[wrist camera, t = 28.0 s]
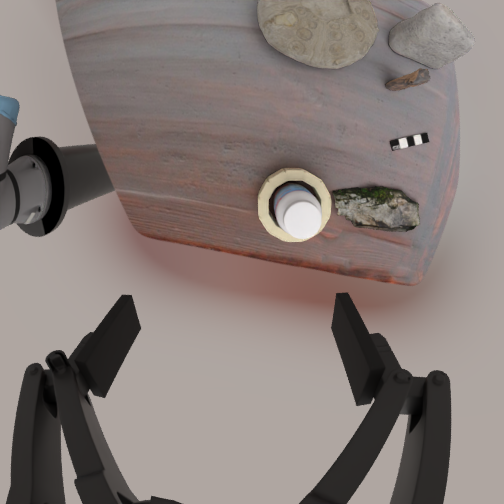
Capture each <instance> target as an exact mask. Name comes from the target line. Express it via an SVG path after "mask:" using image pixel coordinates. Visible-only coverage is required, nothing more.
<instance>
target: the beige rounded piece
mask: <svg viewBox="0 0 504 504" xmlns="http://www.w3.org/2000/svg"><path fill="white" fill-rule="evenodd" d="M257 12H258V14H257V16H258V22H259V27H260V28H261V30H262V32H263V34H264V37H265V38H266V40H267V42H268V43H269V44H270V45H271V46H272V47H274V48H275V49H276V50H278V51H279V52H282V53H283V54H284V55H286V56H288V57H290V58H292V59H294V60H296V61H298V62H301V63H304V64H307V65H309V66H313V67H317V68H328V69H338V68H341V67H344V66H349V65H351V64H353V63H355V62H356V61H357V60H360V59H362V58H363V57H364V56H365V55H366V54H367V52H368V51H369V49H370V47H371V46H372V44H373V43H374V40H375V39H376V36H377V32H378V31H379V28H378V27H377V24H378V23H377V19H376V15H375V12H374V10H373V8H372V6H371V2H370V1H368V0H259V1H258V5H257Z"/></svg>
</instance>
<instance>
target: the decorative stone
mask: <svg viewBox="0 0 504 504" xmlns="http://www.w3.org/2000/svg"><path fill="white" fill-rule="evenodd" d="M474 41H475V38H474V36H473V34H472V33H471V32H470V31H469V30H468V28H467V27H466V26H465V25H464V24H463V23H462V22H461V21H460V20H459V18H458V17H457V16H456V15H455V14H454V12H453V11H452V10H450V9H449V8H448V7H447V6H445V5H443V4H440V3H435V4H434V5H432V6H431V7H429V8H427V9H424V10H422V11H420V12H419V13H418V14H416V15H415V16H413V17H412V18H409V19H406V20H403V21H402V22H400V23H398V24H397V25H396V26H395V27H394V28H392V29H391V31H390V34H389V46H390V47H391V48H392V50H393V51H394V52H396V53H398V54H400V55H402V56H404V57H407V58H410V59H413V60H415V61H417V62H419V63H421V64H424V65H426V66H428V67H430V68H433V69H440V68H442V67H443V66H444V65H446V64H448V63H450V62H453V61H455V60H456V59H458V58H460V57H461V56H463V55H465V54H466V53H467V52H469V50H470V49H471V48H472V47H473V46H474Z"/></svg>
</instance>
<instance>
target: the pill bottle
mask: <svg viewBox="0 0 504 504" xmlns="http://www.w3.org/2000/svg"><path fill="white" fill-rule="evenodd" d="M273 206H274V210H275V215H276V219H277V222H278V224H279V226H280V227H281V228H282V229H283V230H284V231H285V232H286V233H288V234H290V235H291V236H293V237H295V238H298V239H307V238H310V237H312V236H313V235H315V234H316V233H317V232H318V230H319V228H320V226H321V221H322V209H321V206H320V203H319V202H318V200H317V199H316V198H315V197H314V196H313V195H312V194H311V193H310V192H309V191H308V190H307V189H306V188H305V187H304V186H302V185H300V184H295V183H289V184H285V185H283V186H282V187H280V188H279V189H278V190H277V191H276V193H275V195H274V199H273Z"/></svg>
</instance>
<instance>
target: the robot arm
mask: <svg viewBox="0 0 504 504" xmlns="http://www.w3.org/2000/svg"><path fill="white" fill-rule="evenodd" d="M18 112H19V102H18V101H17V100H16V99H14V98H10V97H5V96H1V95H0V230H1V229H2V228H5V227H6V226H8V225H10V224H13V223H25V224H29V223H34V222H36V221H38V220H40V219H42V218H43V217H44V216H45V214H46V213H47V211H48V209H49V206H50V203H51V197H52V183H51V177H50V174H49V171H48V168H47V166H46V164H45V163H44V161H43V160H42V159H41V158H40V157H38V156H37V155H33V154H30V155H24V156H21V157H20V158H18V159H17V160H15V161H14V162H12V163H11V164H10V165H8V160H9V153H10V147H11V143H12V138H13V133H14V129H15V126H16V125H17V122H16V121H17V116H18ZM331 329H332V332H333V335H334V338H335V341H336V343H337V347H338V350H339V352H340V355H341V358H342V361H343V364H344V367H345V371H346V374H347V377H348V380H349V383H350V386H351V389H352V393H353V395H354V399H355V402H356V406H360V405H365V404H371V401H372V399H373V397H374V399H375V401H374V403H373V404H372V406H371V408H370V410H369V411H368V413H367V415H366V416H365V418H364V420H363V421H362V423H361V424H360V426H359V428H358V429H357V431H356V432H355V434H354V435H353V437H352V438H351V440H350V442H349V443H348V444H347V446H346V447H345V449H344V450H343V452H342V453H341V454H340V456H339V457H338V458H337V460H336V461H335V462H334V464H333V465H332V466H331V468H330V469H329V470H328V472H327V473H326V474H325V475H324V477H323V478H322V479H321V480H320V482H319V483H318V484H317V485H316V486H315V488H314V489H313V490H312V491H311V492H310V493H309V494H308V495H307V496H306V497H305V498H304V499H303V500H302V501H301V502H300V503H299V504H347V502H348V501H349V500H350V498H351V497H352V495H353V494H354V493H355V491H356V490H357V488H358V487H359V485H360V484H361V482H362V481H363V479H364V478H365V476H366V475H367V473H368V471H369V470H370V468H371V467H372V465H373V463H374V461H375V460H376V458H377V456H378V455H379V453H380V451H381V449H382V448H383V445H384V444H385V442H386V440H387V438H388V436H389V434H390V432H391V430H392V428H393V426H394V424H395V422H396V420H397V418H398V416H399V414H407V415H409V416H408V423H407V430H406V436H405V442H404V448H403V453H402V458H401V463H400V467H399V472H398V476H397V480H396V484H395V488H394V491H393V495H392V498H391V502H390V504H443V501H444V496H445V490H446V483H447V476H448V468H449V457H450V443H451V391H450V380H449V377H448V376H447V374H445V373H444V372H442V371H438V370H436V371H432V372H430V373H429V374H428V376H427V377H426V378H425V377H413V376H412V374H411V373H410V372H409V371H407V370H405V369H402V368H401V367H400V365H399V363H398V361H397V359H396V357H395V355H394V353H393V351H391V348H390V346H389V344H388V342H387V341H386V339H385V338H384V337H383V336H382V335H381V334H379V333H374V334H369V332H368V330H367V328H366V326H365V324H364V322H363V320H362V318H361V316H360V314H359V313H358V311H357V309H356V307H355V305H354V303H353V301H352V300H351V298H350V296H349V294H348V293H336V299H335V307H334V314H333V320H332V327H331ZM140 330H141V326H140V323H139V319H138V317H137V313H136V309H135V305H134V302H133V298H132V295H122V296H121V297H120V298H119V299H118V301H117V302H116V303H115V304H114V306H113V307H112V308H111V310H110V311H109V312H108V314H107V315H106V316H105V318H104V319H103V320H102V322H101V323H100V324H99V326H98V327H97V328H96V330H95V331H94V333H93V332H90V333H89V334H87V335H86V336H85V337H84V338H83V339H82V340H81V342H80V343H79V345H78V346H77V348H76V349H75V350H74V352H73V353H72V354H71V356H70V357H69V359H67V357H66V355H65V353H64V352H63V351H61V350H56V351H53V352H51V353H50V354H49V355H48V356H47V357H46V360H45V361H46V363H47V365H48V367H49V368H50V369H49V370H44V369H43V368H42V366H41V364H39V363H34V364H31V365H29V366H28V367H27V369H26V371H25V374H24V378H23V382H22V387H21V392H20V396H19V401H18V407H17V412H16V419H15V426H14V434H13V443H12V456H11V487H10V490H9V494H8V497H7V501H6V504H65V495H64V487H63V477H62V463H61V425H62V429H63V433H64V436H65V440H66V444H67V447H68V451H69V454H70V457H71V460H72V463H73V466H74V469H75V472H76V474H77V479H75V481H74V483H75V486H76V489H77V491H78V494H79V496H80V499H81V501H82V503H83V504H181V503H179V502H176V501H174V500H168V499H163V498H158V497H154V496H151V500H144V501H139V500H138V499H137V498H136V497H135V495H134V494H133V493H132V492H131V490H130V489H129V487H128V485H127V483H126V481H125V480H124V478H123V476H122V474H121V472H120V470H119V468H118V466H117V464H116V462H115V460H114V458H113V456H112V453H111V451H110V449H109V447H108V444H107V442H106V440H105V438H104V435H103V432H102V430H101V427H100V425H99V422H98V419H97V417H96V415H95V411H94V408H93V406H92V402H91V399H90V397H89V395H88V391H89V389H90V390H91V391H92V393H93V394H94V395H95V396H99V397H103V398H105V397H106V395H107V393H108V390H109V389H110V386H111V385H112V383H113V381H114V378H115V377H116V375H117V372H118V370H119V369H120V367H121V365H122V363H123V361H124V359H125V357H126V355H127V353H128V352H129V350H130V348H131V346H132V344H133V342H134V340H135V339H136V337H137V335H138V333H139V331H140Z"/></svg>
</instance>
